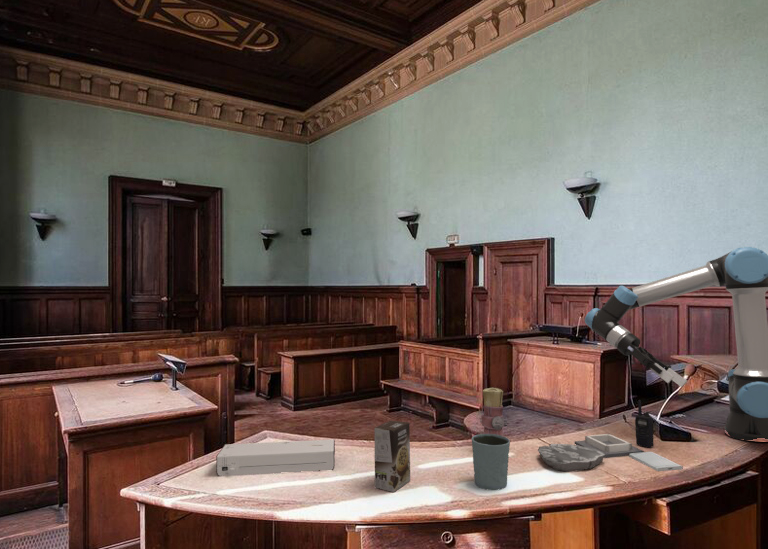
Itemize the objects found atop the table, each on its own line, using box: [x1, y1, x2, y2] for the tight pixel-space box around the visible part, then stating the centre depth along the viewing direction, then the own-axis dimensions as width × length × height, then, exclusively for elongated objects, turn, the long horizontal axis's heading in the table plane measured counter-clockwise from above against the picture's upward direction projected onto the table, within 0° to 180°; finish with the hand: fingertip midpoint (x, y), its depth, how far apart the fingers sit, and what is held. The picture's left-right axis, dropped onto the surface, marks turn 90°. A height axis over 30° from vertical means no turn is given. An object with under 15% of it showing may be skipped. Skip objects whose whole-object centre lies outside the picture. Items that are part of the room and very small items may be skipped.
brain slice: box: [537, 443, 605, 472], centre depth 147 cm, size 20×17×3 cm
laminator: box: [215, 439, 336, 477], centre depth 147 cm, size 34×12×6 cm, turn 95°
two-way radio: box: [634, 399, 655, 449], centre depth 161 cm, size 6×4×15 cm
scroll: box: [479, 387, 505, 436], centre depth 158 cm, size 8×8×20 cm
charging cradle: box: [574, 433, 645, 459], centre depth 158 cm, size 15×14×3 cm
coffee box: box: [374, 420, 411, 493], centre depth 133 cm, size 9×6×16 cm
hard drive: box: [628, 451, 684, 472], centre depth 145 cm, size 2×8×12 cm
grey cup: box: [471, 433, 511, 491], centre depth 132 cm, size 10×10×12 cm
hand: (677, 382), depth 157 cm, fingers open, 13 cm apart
